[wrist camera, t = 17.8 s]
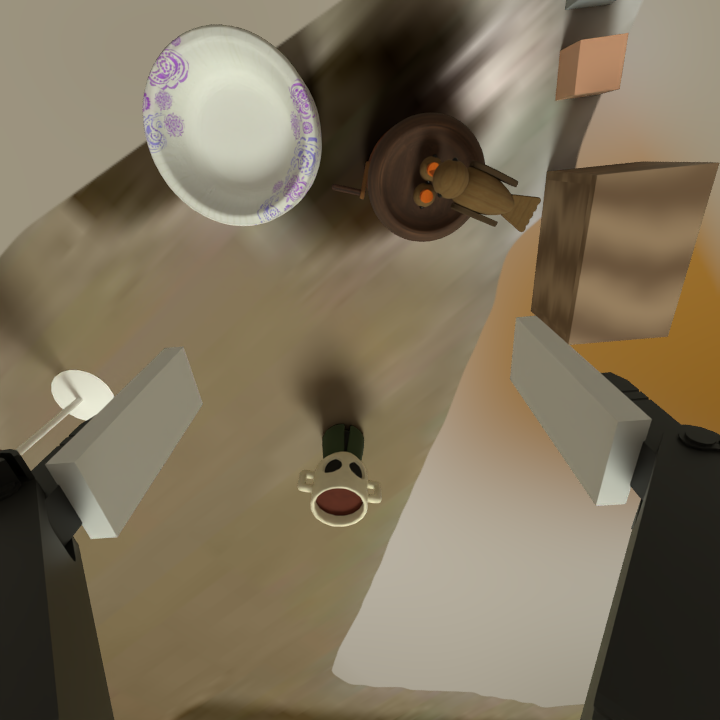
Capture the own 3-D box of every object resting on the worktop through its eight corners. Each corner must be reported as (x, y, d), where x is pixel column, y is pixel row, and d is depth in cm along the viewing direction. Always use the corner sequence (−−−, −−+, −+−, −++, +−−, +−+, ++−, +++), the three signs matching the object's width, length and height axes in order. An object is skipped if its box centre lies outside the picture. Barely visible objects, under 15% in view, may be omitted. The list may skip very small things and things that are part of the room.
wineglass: (114, 372, 53) (-39, 504, 33) (119, 429, 58) (-12, 577, 37) (43, 360, 52) (-158, 488, 32) (55, 419, 57) (-116, 564, 37)
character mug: (384, 426, 57) (389, 493, 46) (373, 462, 61) (375, 533, 49) (311, 413, 56) (298, 478, 45) (304, 450, 60) (290, 520, 48)
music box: (487, 116, 39) (582, 118, 23) (466, 227, 45) (529, 294, 28) (337, 109, 39) (319, 105, 22) (336, 221, 45) (321, 286, 28)
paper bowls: (166, 42, 37) (120, 14, 30) (326, 54, 37) (318, 29, 30) (189, 212, 44) (156, 222, 37) (323, 220, 44) (316, 232, 37)
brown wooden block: (547, 171, 42) (597, 175, 33) (642, 161, 41) (719, 162, 32) (530, 311, 49) (568, 344, 40) (611, 304, 49) (667, 336, 40)
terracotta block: (559, 51, 37) (580, 39, 34) (602, 44, 37) (628, 33, 33) (554, 100, 39) (574, 95, 35) (595, 95, 39) (619, 88, 35)
